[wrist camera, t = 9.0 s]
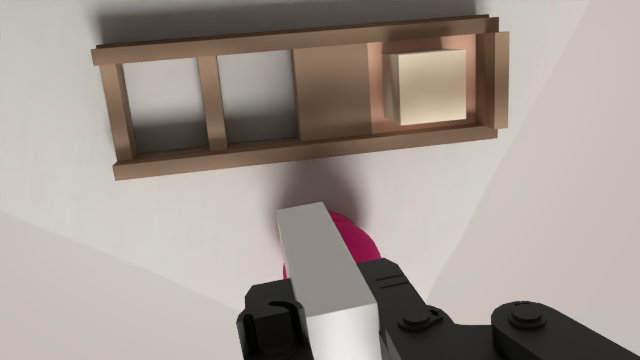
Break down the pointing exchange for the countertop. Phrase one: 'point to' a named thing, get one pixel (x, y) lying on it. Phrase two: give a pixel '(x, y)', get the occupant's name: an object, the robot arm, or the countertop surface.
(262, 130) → the countertop surface
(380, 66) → the channel
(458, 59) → the birch block
